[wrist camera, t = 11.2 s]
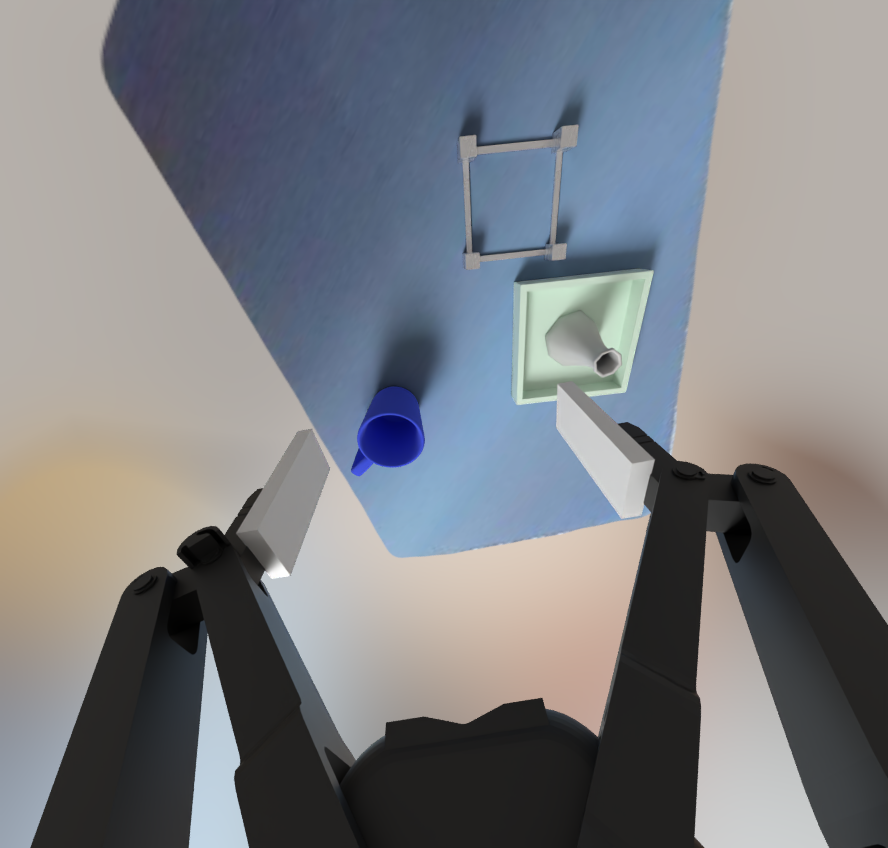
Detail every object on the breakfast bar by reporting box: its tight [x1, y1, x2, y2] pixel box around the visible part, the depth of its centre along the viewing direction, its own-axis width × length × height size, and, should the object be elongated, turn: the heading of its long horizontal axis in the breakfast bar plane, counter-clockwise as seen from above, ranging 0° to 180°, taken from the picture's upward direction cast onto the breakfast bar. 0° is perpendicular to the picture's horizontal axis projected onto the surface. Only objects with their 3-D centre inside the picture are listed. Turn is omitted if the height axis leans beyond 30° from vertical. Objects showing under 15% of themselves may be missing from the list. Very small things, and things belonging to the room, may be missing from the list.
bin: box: [511, 268, 654, 405], centre depth 43 cm, size 16×16×3 cm
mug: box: [351, 386, 425, 476], centre depth 43 cm, size 8×12×10 cm
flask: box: [545, 310, 622, 378], centre depth 39 cm, size 7×7×10 cm
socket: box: [457, 125, 578, 270], centre depth 34 cm, size 12×12×2 cm
